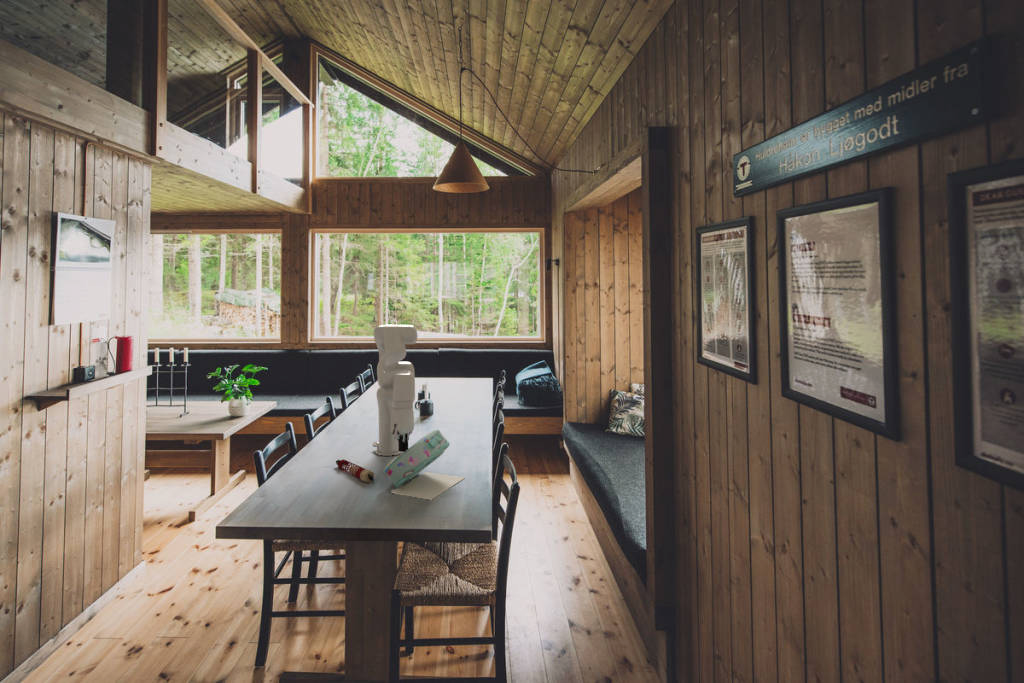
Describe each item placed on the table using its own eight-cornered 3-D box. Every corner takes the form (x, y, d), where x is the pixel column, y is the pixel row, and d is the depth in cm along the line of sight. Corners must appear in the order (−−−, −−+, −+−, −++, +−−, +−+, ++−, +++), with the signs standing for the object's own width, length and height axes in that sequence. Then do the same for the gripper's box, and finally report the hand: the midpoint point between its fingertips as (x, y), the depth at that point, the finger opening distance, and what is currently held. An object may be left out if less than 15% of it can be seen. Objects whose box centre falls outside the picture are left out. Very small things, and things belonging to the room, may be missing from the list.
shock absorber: (330, 460, 223) (365, 477, 201) (340, 454, 225) (376, 470, 204) (334, 470, 224) (370, 487, 203) (344, 463, 227) (380, 480, 206)
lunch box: (391, 495, 194) (435, 464, 189) (375, 472, 195) (418, 441, 190) (418, 470, 220) (457, 442, 215) (404, 450, 221) (443, 422, 216)
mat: (388, 493, 194) (388, 492, 194) (426, 472, 218) (426, 471, 218) (431, 500, 187) (431, 499, 187) (464, 478, 211) (464, 477, 211)
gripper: (405, 401, 214) (405, 445, 215) (383, 407, 200) (383, 454, 201) (421, 402, 211) (421, 447, 212) (400, 408, 197) (400, 457, 198)
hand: (403, 450), depth 206 cm, fingers closed
